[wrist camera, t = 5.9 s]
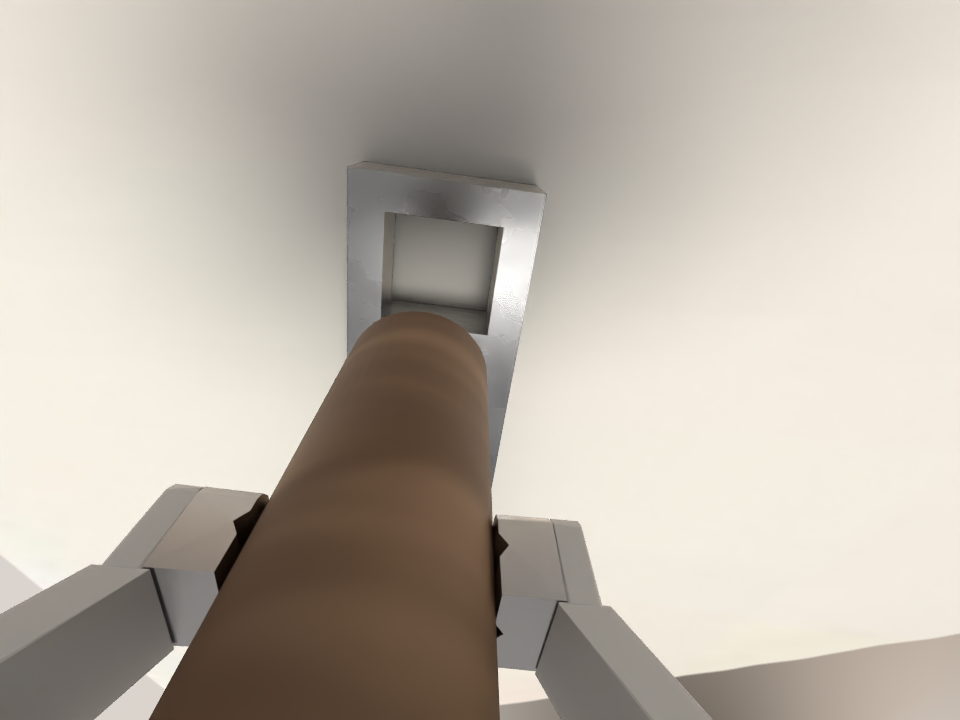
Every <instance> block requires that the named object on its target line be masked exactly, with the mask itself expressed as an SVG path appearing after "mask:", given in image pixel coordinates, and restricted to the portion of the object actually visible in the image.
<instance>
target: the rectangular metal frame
mask: <svg viewBox="0 0 960 720" xmlns="http://www.w3.org/2000/svg"><path fill="white" fill-rule="evenodd" d="M546 195H547V194H546V193H544V192H543V191H542V190H541V189H540V188H539V187H538V186H536V185H529V184H522V183H515V182H508V181H500V180H493V179H486V178H479V177H472V176H465V175H458V174H451V173H444V172H437V171H429V170H422V169H415V168H408V167H401V166H394V165H387V164H380V163H373V162H366V161H364V162H361V163H357V164H354V165H351V166H348V167H347V357H348V356H349V354H350V352H351V350H352V348H353V346H354V345H355V343H356V341H357V339H358V338H359V337H360V335H361V334H362V333H363V332H364V331H365V330H366V329H367V328H368V327H369V326H370V325H372V324H373V323H374V322H376V321H378V320H380V319H382V318H384V317H386V316H389V315H392V314H396V313H400V312H408V311H421V312H428V313H432V314H436V315H440V316H442V317H445V318H447V319H449V320H451V321H453V322H455V323H456V324H458V325H459V326H461V327H462V328H463V329H465V330H466V331H467V332H468V333H469V334H470V335H471V336H472V338H473V339H474V340H475V341H476V343H477V344H478V346H479V348H480V349H481V351H482V354H483V356H484V359H485V363H486V369H487V389H488V416H489V443H490V470H491V487H492V482H493V477H494V472H495V466H496V461H497V456H498V450H499V445H500V440H501V434H502V429H503V424H504V418H505V413H506V408H507V402H508V397H509V392H510V387H511V381H512V376H513V371H514V365H515V360H516V355H517V349H518V344H519V339H520V333H521V328H522V323H523V317H524V312H525V307H526V302H527V296H528V291H529V286H530V280H531V275H532V270H533V264H534V259H535V254H536V248H537V243H538V238H539V232H540V227H541V222H542V217H543V211H544V206H545V201H546ZM396 213H400V214H408V215H415V216H423V217H430V218H438V219H445V220H452V221H460V222H467V223H475V224H482V225H490V226H497V227H499V228H498V234H497V241H496V248H495V255H494V262H493V268H492V275H491V282H490V289H489V295H488V302H487V309H486V311H479V310H471V309H463V308H455V307H446V306H438V305H430V304H421V303H413V302H405V301H397V300H392V279H393V257H394V236H395V214H396Z"/></svg>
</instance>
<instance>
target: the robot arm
mask: <svg viewBox="0 0 960 720" xmlns="http://www.w3.org/2000/svg"><path fill="white" fill-rule="evenodd" d="M268 501H269V498H268V495H265V494H262V493H254V492H246V491H237V490H229V489H220V488H212V487H199V486H190V485H181V484H175V485H173V486H171V487H169V488H168V489H166V490H165V491H164V492H163V493H162V495H161V496H160V497H159V498H158V499H157V500H156V502H155V503H154V504H153V505H152V506H151V508H150V509H149V510H148V511H147V512H146V513H145V515H144V516H143V517H142V518H141V519H140V520H139V522H138V523H137V524H136V525H135V526H134V528H133V529H132V530H131V531H130V532H129V533H128V535H127V536H126V537H125V538H124V539H123V540H122V542H121V543H120V544H119V545H118V546H117V547H116V549H115V550H114V551H113V552H112V553H111V555H110V556H109V557H108V558H107V559H106V560H105V562H104V563H103V564H102V565H92V564H91V565H89V566H88V567H86V568H84V569H82V570H80V571H78V572H77V573H75V574H73V575H71V576H69V577H67V578H66V579H64V580H62V581H60V582H58V583H56V584H55V585H53V586H51V587H49V588H47V589H45V590H44V591H42V592H40V593H38V594H36V595H35V596H33V597H31V598H29V599H27V600H26V601H24V602H22V603H20V604H18V605H16V606H14V607H13V608H11V609H9V610H7V611H5V612H4V613H2V614H0V720H94V719H95V718H96V717H97V716H99V715H100V714H101V713H102V712H103V711H104V710H105V709H106V708H108V707H109V706H110V705H111V704H112V703H113V702H114V701H115V700H117V699H118V698H119V697H120V696H121V695H122V694H123V693H125V692H126V691H127V690H128V689H129V688H130V687H131V686H133V685H134V684H135V683H136V682H137V681H138V680H139V679H141V678H142V677H143V676H144V675H145V674H146V673H147V672H149V671H150V670H151V669H152V668H153V667H154V666H155V665H156V664H158V663H159V662H160V661H161V660H162V659H163V658H164V657H166V656H167V655H168V654H169V653H170V652H171V651H172V650H173V649H174V647H173V646H189V645H190V644H191V642H192V640H193V638H194V636H195V634H196V633H197V631H198V629H199V627H200V625H201V623H202V622H203V620H204V618H205V616H206V614H207V613H208V611H209V609H210V607H211V605H212V603H213V602H214V600H215V598H216V596H217V594H218V592H219V591H220V589H221V587H222V585H223V583H224V582H225V580H226V578H227V576H228V574H229V572H230V571H231V569H232V567H233V565H234V563H235V562H236V560H237V558H238V556H239V554H240V552H241V551H242V549H243V547H244V545H245V543H246V541H247V540H248V538H249V536H250V534H251V532H252V531H253V529H254V527H255V525H256V523H257V521H258V520H259V518H260V516H261V514H262V512H263V510H264V509H265V507H266V505H267V503H268ZM493 554H494V579H495V580H494V581H495V607H496V633H497V660H498V667H499V668H509V669H519V670H529V671H536V673H535V675H536V676H537V678H538V680H539V682H540V683H541V685H542V687H543V689H544V690H545V692H546V694H547V696H548V698H549V699H550V701H551V703H552V705H553V706H554V708H555V710H556V711H557V713H558V715H559V717H560V719H561V720H712V719H711V717H710V716H709V715H708V714H707V713H706V712H705V711H704V709H703V708H702V707H701V706H700V705H699V704H698V703H697V702H696V701H695V699H694V698H693V697H692V696H691V695H690V694H689V693H688V692H687V691H686V690H685V688H684V687H683V686H682V685H681V684H680V683H679V682H678V681H677V679H676V678H675V677H674V676H673V675H672V674H671V673H670V672H669V671H668V669H667V668H666V667H665V666H664V665H663V664H662V663H661V662H660V661H659V659H658V658H657V657H656V656H655V655H654V654H653V653H652V652H651V651H650V649H649V648H648V647H647V646H646V645H645V644H644V643H643V642H642V641H641V639H640V638H639V637H638V636H637V635H636V634H635V633H634V632H633V631H632V629H631V628H630V627H629V626H628V625H627V624H626V623H625V622H624V620H623V619H622V618H621V617H620V616H619V615H618V614H617V613H616V612H615V610H614V609H613V608H612V607H611V606H603V605H602V603H601V600H600V596H599V592H598V588H597V584H596V580H595V577H594V573H593V569H592V565H591V561H590V558H589V554H588V550H587V546H586V542H585V538H584V535H583V531H582V527H581V525H580V524H579V523H578V521H568V520H556V519H550V520H549V519H545V518H533V517H520V516H508V515H496V516H495V518H494V522H493Z"/></svg>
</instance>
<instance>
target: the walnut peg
mask: <svg viewBox="0 0 960 720" xmlns="http://www.w3.org/2000/svg"><path fill="white" fill-rule="evenodd" d="M494 580H495V579H494V554H493V525H492V497H491V470H490V443H489V416H488V389H487V369H486V363H485V359H484V356H483V354H482V351H481V349H480V348H479V346H478V344H477V343H476V341H475V340H474V339H473V338H472V336H471V335H470V334H469V333H468V332H467V331H466V330H465V329H463V328H462V327H461V326H459V325H458V324H456V323H455V322H453V321H451V320H449V319H447V318H445V317H442V316H440V315H436V314H432V313H428V312H421V311H408V312H400V313H396V314H392V315H389V316H386V317H384V318H382V319H380V320H378V321H376V322H374V323H373V324H372V325H370V326H369V327H368V328H367V329H366V330H365V331H364V332H363V333H362V334H361V335H360V337H359V338H358V339H357V341H356V343H355V345H354V346H353V348H352V350H351V352H350V354H349V356H348V357H347V359H346V361H345V363H344V365H343V366H342V368H341V370H340V372H339V374H338V376H337V377H336V379H335V381H334V383H333V385H332V387H331V388H330V390H329V392H328V394H327V396H326V397H325V399H324V401H323V403H322V405H321V407H320V408H319V410H318V412H317V414H316V416H315V418H314V419H313V421H312V423H311V425H310V427H309V428H308V430H307V432H306V434H305V436H304V438H303V439H302V441H301V443H300V445H299V447H298V448H297V450H296V452H295V454H294V456H293V458H292V459H291V461H290V463H289V465H288V467H287V469H286V470H285V472H284V474H283V476H282V478H281V479H280V481H279V483H278V485H277V487H276V489H275V490H274V492H273V494H272V496H271V498H270V500H269V501H268V503H267V505H266V507H265V509H264V510H263V512H262V514H261V516H260V518H259V520H258V521H257V523H256V525H255V527H254V529H253V531H252V532H251V534H250V536H249V538H248V540H247V541H246V543H245V545H244V547H243V549H242V551H241V552H240V554H239V556H238V558H237V560H236V562H235V563H234V565H233V567H232V569H231V571H230V572H229V574H228V576H227V578H226V580H225V582H224V583H223V585H222V587H221V589H220V591H219V592H218V594H217V596H216V598H215V600H214V602H213V603H212V605H211V607H210V609H209V611H208V613H207V614H206V616H205V618H204V620H203V622H202V623H201V625H200V627H199V629H198V631H197V633H196V634H195V636H194V638H193V640H192V642H191V644H190V645H189V647H188V649H187V651H186V653H185V654H184V656H183V658H182V660H181V662H180V664H179V665H178V667H177V669H176V671H175V673H174V675H173V676H172V678H171V680H170V682H169V684H168V685H167V687H166V689H165V691H164V693H163V695H162V697H161V698H160V700H159V702H158V704H157V706H156V707H155V709H154V711H153V713H152V715H151V717H150V718H149V720H500V716H499V687H498V660H497V633H496V607H495V581H494Z"/></svg>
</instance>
